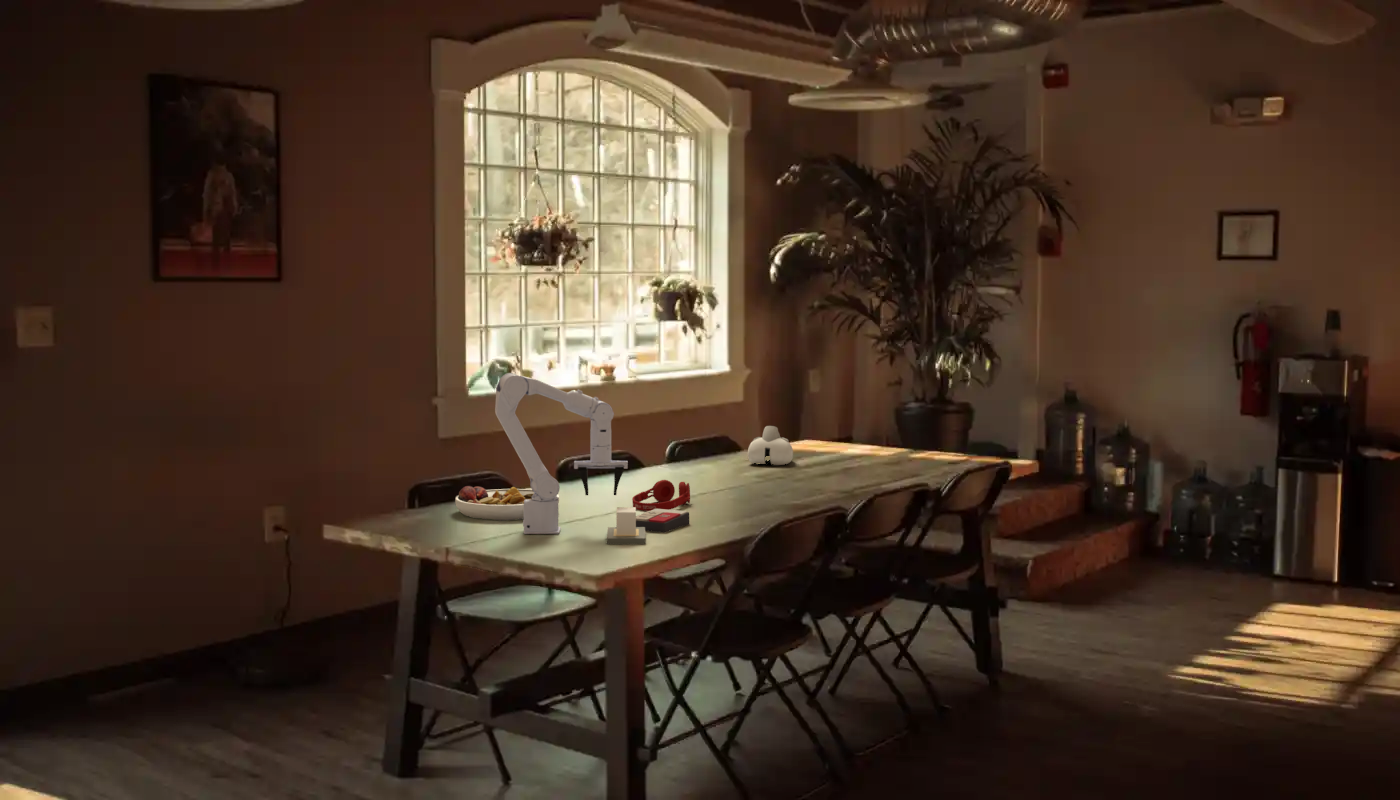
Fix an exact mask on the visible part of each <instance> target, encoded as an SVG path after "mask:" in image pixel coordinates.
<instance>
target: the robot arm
mask: <svg viewBox="0 0 1400 800" xmlns="http://www.w3.org/2000/svg"><path fill="white" fill-rule="evenodd" d="M536 394H537V395H540V396H543V397H546V398H548V399H551V400H553V401H557V402H559V403H562V404H563V407H564V409H565V410H566V411H569V412H570V413H574V414H576V415H579V416H581V417H584V418H588V419H590V431H589V432H590V433H589V436H590V437H589V438H590V443H589V444H590V445H589V447H590V448H589V449H590V460H588V459H587V460H574V461H573V469H574V470H577V473H578V475H579V478H580V479H581V481H582V484H583V487H584V494H585V496H589V485H588V484H589V482H588V476H589V475H588V473H589V472H588V471H589V470H588V469H614V470H613V471H614V474H613V475H614V476H613V477H614V479H613V480H614V481H613V482H614V483H613V485H614V487H613V495H614V496H617V494H618V493H617V492H618V486H619V483H620V480H621V477H622V475H623V473H624V471H625V470H624V469H628V468H629V467H628V465H629V464H628V463H629V462H628V460H613V459H612V420H613V419H614V416H615V412H614V410H613V408H612V406H611V405H610V404H609V403H607V402H605V401H602V399H601V400H600V399H599V397H598V396H594V397H592V396H590V395H587V394H585V393H583V390H581V389H577V390H575V389H573V390H572V389H571V390H570V391H568V392H567V391H564V390H562V389H559V388H557V387H555V386H552V385H550V384H547V383H545V382H543V381H542V380H541V381H540V380H538V379H536V378H533V377H532V378H531V377H528V376H524V375H519V374H516V373H513V372H508V373H507V372H506V373H505V374H503V375H502V376H501V377H500V378H499V381H498V382H497V384H496V387H495V406H494V408H495V409H494V412H495V416H496V417H497V419H498V421H499V423H500V425H501V427H502V428H503V431H504V432H505V434H506V435H507V437H508V440H509V441H510V444H511V445H512V447H513V448H514V451H515V452H516V454H517V456H518V457H519V460H520V461H521V463H522V465H523V466H524V468H525V470H526V473H527V475H528V478H529V480H530V490H533V492H534V494H533V495H532V499H526V500H524V519H522V521H523V522H522V526H523V534H524V535H532V534H533V535H534V534H536V535H537V534H538V535H539V534H540V535H541V534H542V535H544V534H545V535H546V534H548V535H551V534H560V532H561V529H562V527H561V526H559V503H558V496H557V495H559V492H560V483H559V481H558V480H557V479H556V478H554V476H552V474H550V473H549V470H548V469H547V468H546V466H545V464H544V463H543V461H542V459H541V458H540V455H538V451H536V449H535V446H533V443H532V442H531V439H530V438H529V436H528V433H527V432H526V431H525V429H524V427H523V425H522V423H521V421H520V419H519V417H518V416H517V414H516V410H517V407H518V406H519V403H520V401H521V400H522V399H523V397H524V396H525V395H527V396H533V395H536Z"/></svg>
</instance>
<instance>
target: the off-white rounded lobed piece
mask: <svg viewBox="0 0 1400 800" xmlns="http://www.w3.org/2000/svg"><path fill="white" fill-rule="evenodd" d="M780 435H781V433H780V432H779V428H778V427H777V426H774V425H766V426H765V427H764V428H763V432H762V437H761V436H757V437H755V438H753V440H752V441H751V442H750V444H749V445H748V448H747V449H748V450H747V458H748V461H749V463H752V464H754V463H760V464H765V463H766V462H767V461H765V457H766V456H770V461H769V462H770V464H771V465H772V464H774V465H773V466H785V464H786V465H787V464H790V463H791V462H792V460H793V458H794V450H793V447H792V445H791V443H790V442H789V439H788V438H785V437H781V436H780Z"/></svg>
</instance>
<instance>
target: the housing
mask: <svg viewBox="0 0 1400 800" xmlns="http://www.w3.org/2000/svg"><path fill="white" fill-rule="evenodd" d="M615 515H616V527H617V535H636V516H637V509H636V507H633V506H631V507H629V506H627V507H625V506H622V507H621V506H619V507H616V514H615Z"/></svg>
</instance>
